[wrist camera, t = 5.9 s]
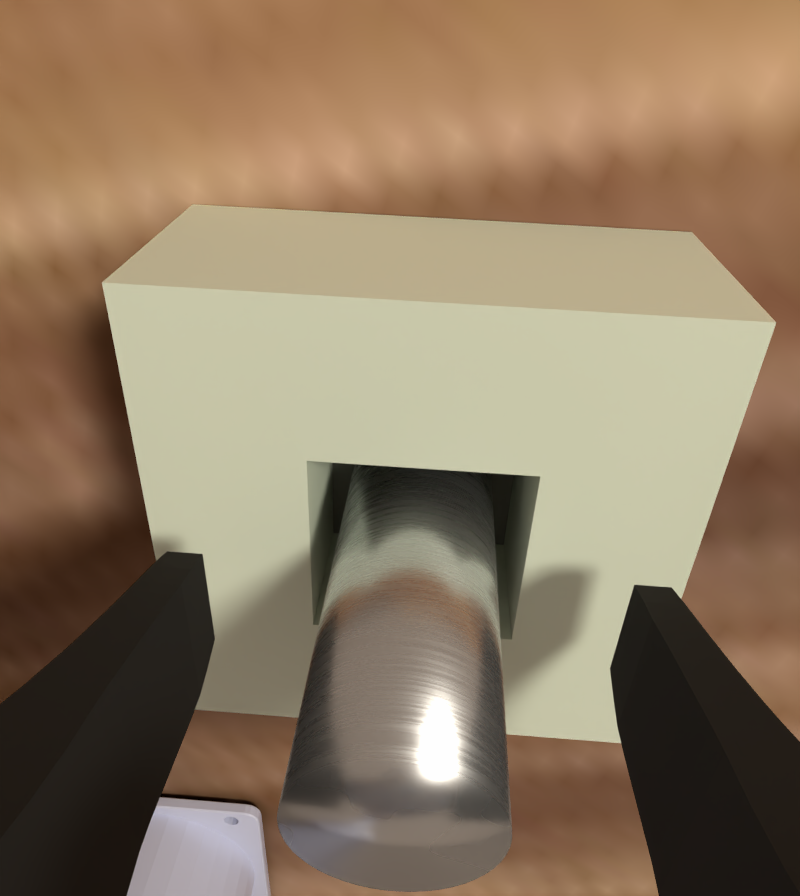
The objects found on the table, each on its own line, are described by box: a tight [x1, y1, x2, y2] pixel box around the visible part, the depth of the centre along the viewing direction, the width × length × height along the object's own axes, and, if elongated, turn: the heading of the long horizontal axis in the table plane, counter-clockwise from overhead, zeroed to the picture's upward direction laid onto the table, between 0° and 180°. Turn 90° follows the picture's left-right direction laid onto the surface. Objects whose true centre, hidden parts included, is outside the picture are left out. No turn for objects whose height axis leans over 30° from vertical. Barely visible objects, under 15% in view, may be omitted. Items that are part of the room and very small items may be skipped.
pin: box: [277, 464, 512, 892], centre depth 13 cm, size 3×3×8 cm
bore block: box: [102, 204, 776, 743], centre depth 15 cm, size 10×10×4 cm
